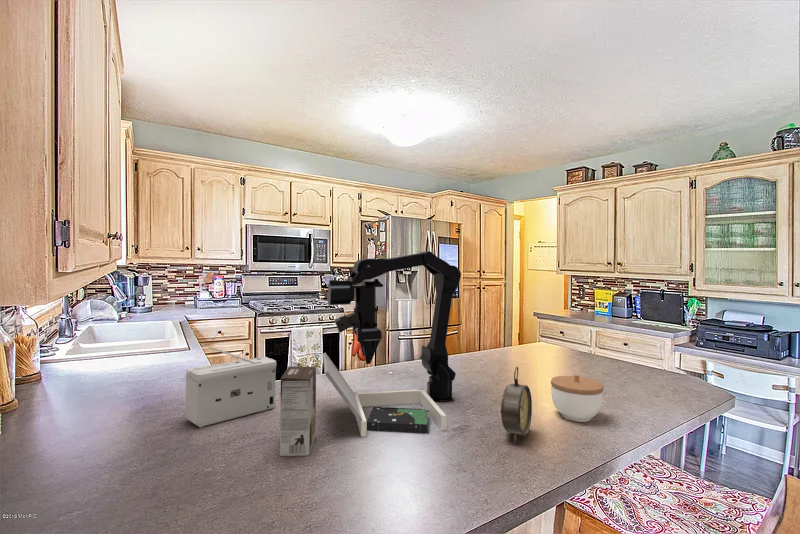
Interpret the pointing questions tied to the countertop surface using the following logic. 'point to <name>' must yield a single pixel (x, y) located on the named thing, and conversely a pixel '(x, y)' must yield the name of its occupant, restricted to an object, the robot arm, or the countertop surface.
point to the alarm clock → (516, 408)
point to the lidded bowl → (576, 397)
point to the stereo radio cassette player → (229, 389)
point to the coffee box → (298, 411)
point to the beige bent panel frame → (379, 398)
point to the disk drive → (398, 420)
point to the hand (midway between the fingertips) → (366, 359)
